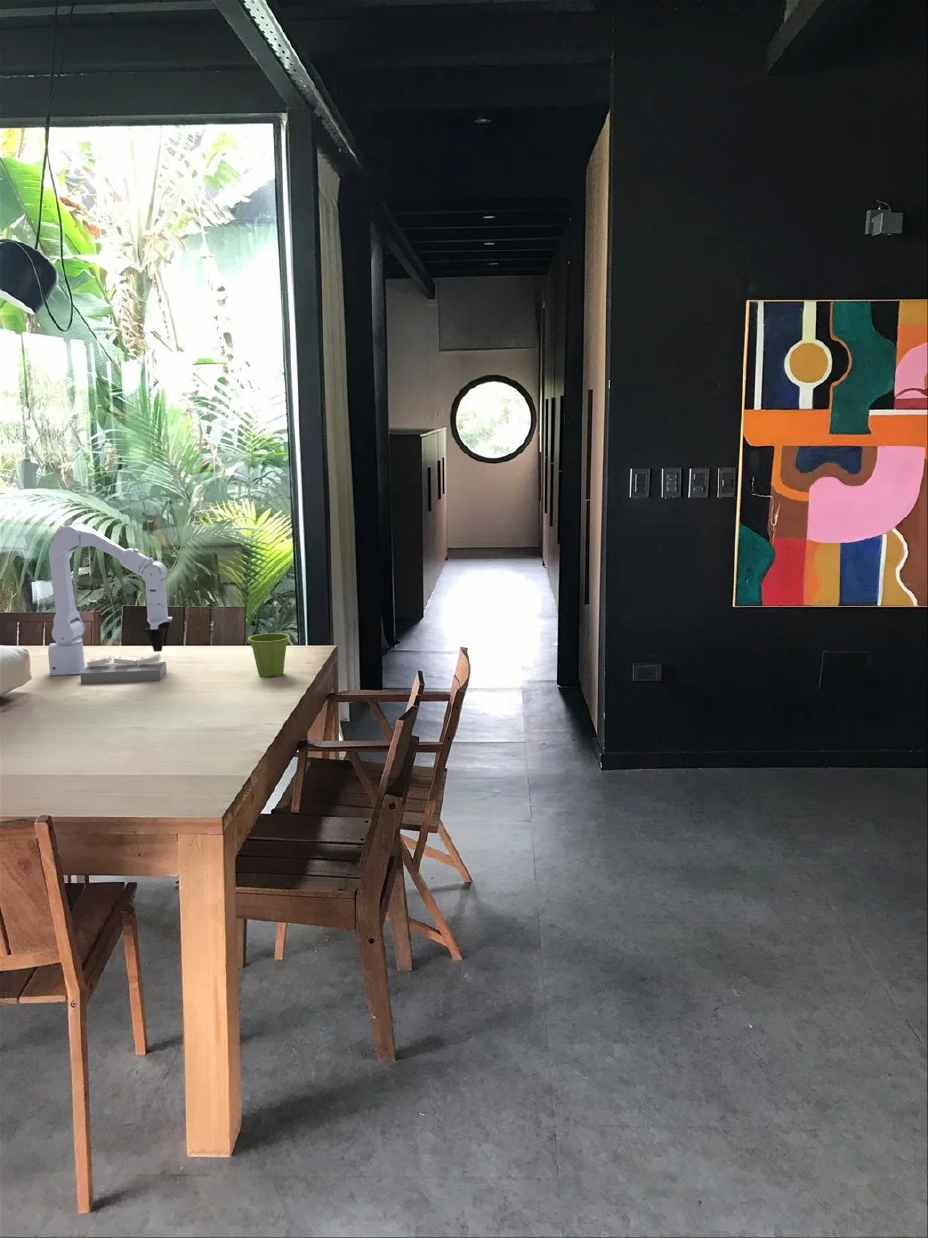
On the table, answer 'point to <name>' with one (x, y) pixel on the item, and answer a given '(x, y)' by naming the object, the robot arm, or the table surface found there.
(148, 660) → the rocker right
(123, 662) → the rocker middle
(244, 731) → the table surface
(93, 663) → the rocker left
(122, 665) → the grey flat tray
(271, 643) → the plant pot
